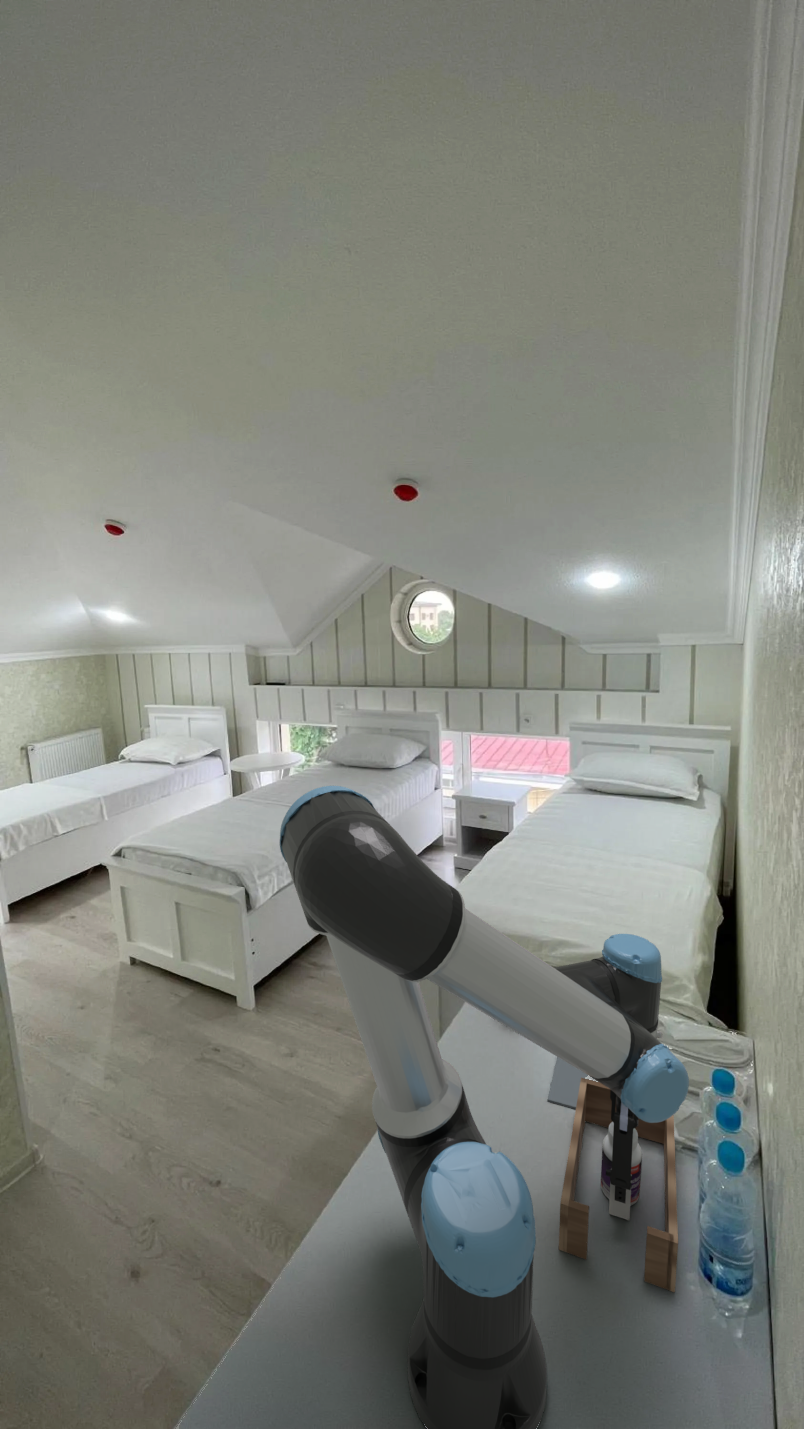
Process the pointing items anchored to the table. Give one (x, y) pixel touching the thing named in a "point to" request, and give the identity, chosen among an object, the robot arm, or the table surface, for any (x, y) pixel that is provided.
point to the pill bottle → (635, 1164)
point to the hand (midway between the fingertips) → (620, 1188)
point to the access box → (576, 1215)
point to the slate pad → (565, 1084)
